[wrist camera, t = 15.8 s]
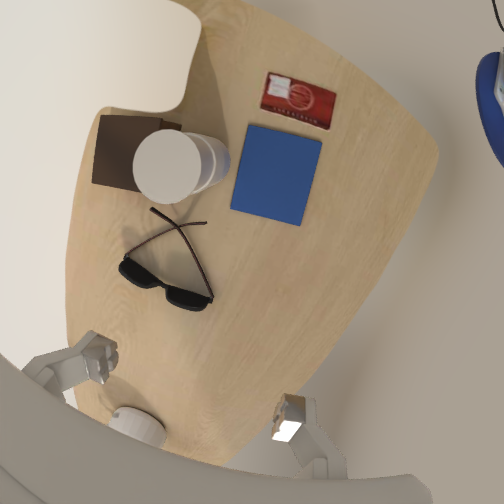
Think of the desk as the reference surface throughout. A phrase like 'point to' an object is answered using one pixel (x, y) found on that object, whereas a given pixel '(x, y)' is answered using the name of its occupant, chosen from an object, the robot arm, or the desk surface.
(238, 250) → the desk surface
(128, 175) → the box
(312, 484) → the robot arm
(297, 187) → the cloth
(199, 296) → the sunglasses
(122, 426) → the white plant pot
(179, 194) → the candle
